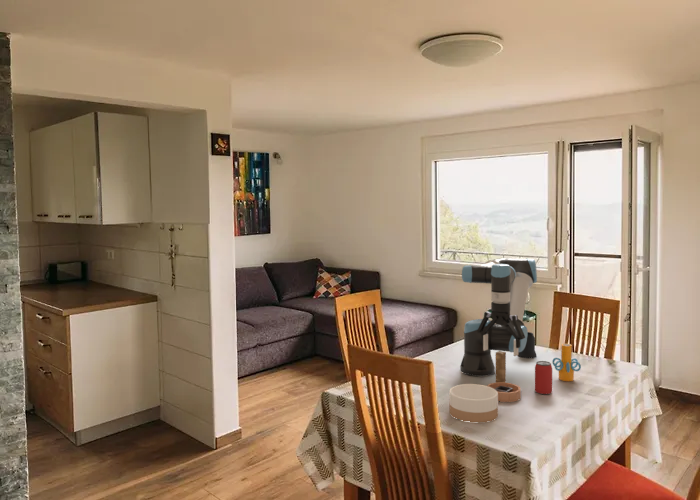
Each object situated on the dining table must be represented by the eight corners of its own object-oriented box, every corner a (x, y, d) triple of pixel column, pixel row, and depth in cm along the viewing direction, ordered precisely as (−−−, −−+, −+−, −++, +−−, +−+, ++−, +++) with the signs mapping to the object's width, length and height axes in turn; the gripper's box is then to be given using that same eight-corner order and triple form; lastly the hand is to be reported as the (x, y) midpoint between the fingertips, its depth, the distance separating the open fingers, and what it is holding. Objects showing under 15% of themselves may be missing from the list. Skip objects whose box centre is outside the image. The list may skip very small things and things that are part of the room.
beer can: (543, 396, 217) (544, 366, 216) (531, 391, 222) (531, 362, 221) (555, 393, 220) (556, 363, 219) (543, 388, 226) (543, 359, 224)
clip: (494, 395, 217) (494, 388, 217) (500, 391, 221) (500, 385, 221) (506, 398, 214) (506, 391, 214) (512, 394, 218) (512, 388, 217)
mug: (536, 359, 266) (536, 336, 265) (516, 357, 270) (516, 334, 269) (537, 352, 277) (537, 330, 276) (518, 351, 281) (518, 329, 280)
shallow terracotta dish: (481, 397, 217) (481, 388, 217) (496, 388, 226) (496, 380, 226) (511, 404, 209) (511, 395, 208) (526, 395, 218) (526, 386, 218)
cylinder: (582, 384, 229) (582, 349, 227) (555, 383, 231) (556, 348, 230) (576, 375, 241) (576, 341, 239) (551, 374, 243) (551, 340, 241)
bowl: (467, 426, 190) (467, 403, 189) (440, 410, 205) (440, 388, 205) (508, 418, 196) (508, 395, 196) (478, 402, 212) (478, 381, 211)
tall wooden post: (495, 385, 230) (495, 352, 229) (499, 383, 232) (499, 350, 231) (502, 386, 228) (502, 353, 227) (505, 385, 230) (505, 352, 229)
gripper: (469, 300, 233) (469, 349, 235) (525, 306, 216) (525, 359, 218) (478, 297, 238) (478, 345, 240) (533, 303, 221) (533, 355, 223)
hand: (500, 352), depth 229 cm, fingers open, 13 cm apart
